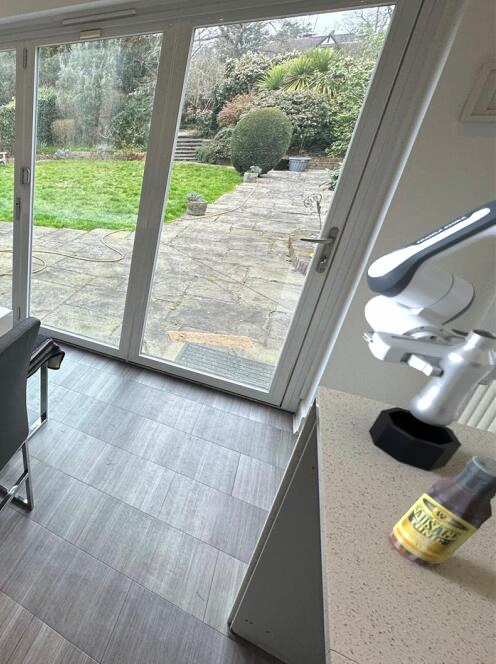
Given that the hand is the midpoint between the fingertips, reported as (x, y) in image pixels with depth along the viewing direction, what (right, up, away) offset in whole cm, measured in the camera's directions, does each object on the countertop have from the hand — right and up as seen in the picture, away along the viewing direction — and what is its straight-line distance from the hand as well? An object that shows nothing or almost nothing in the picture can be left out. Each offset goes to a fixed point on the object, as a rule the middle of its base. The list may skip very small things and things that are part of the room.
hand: (459, 377), depth 76 cm
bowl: (0, -17, +10) cm, 19 cm away
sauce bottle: (-19, -26, -10) cm, 34 cm away
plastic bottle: (0, -10, +6) cm, 11 cm away
